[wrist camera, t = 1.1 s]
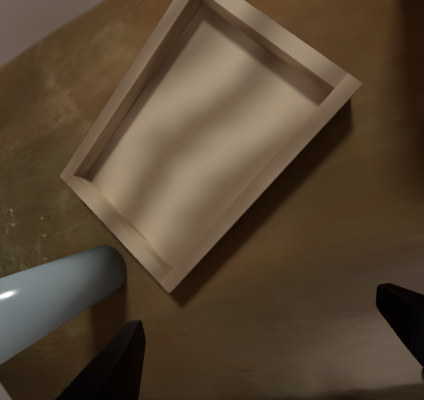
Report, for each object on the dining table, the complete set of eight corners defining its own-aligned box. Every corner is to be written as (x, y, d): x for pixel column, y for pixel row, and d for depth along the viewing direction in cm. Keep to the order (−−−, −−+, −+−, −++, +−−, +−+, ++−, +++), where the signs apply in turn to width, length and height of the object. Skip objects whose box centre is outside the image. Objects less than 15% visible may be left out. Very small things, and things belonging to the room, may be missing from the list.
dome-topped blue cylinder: (134, 269, 24) (23, 334, 13) (108, 301, 25) (-14, 384, 14) (103, 235, 25) (-25, 270, 14) (79, 267, 26) (-57, 322, 15)
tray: (350, 97, 18) (362, 83, 15) (180, 282, 22) (169, 293, 20) (205, -8, 20) (195, -34, 18) (80, 177, 25) (60, 176, 23)
